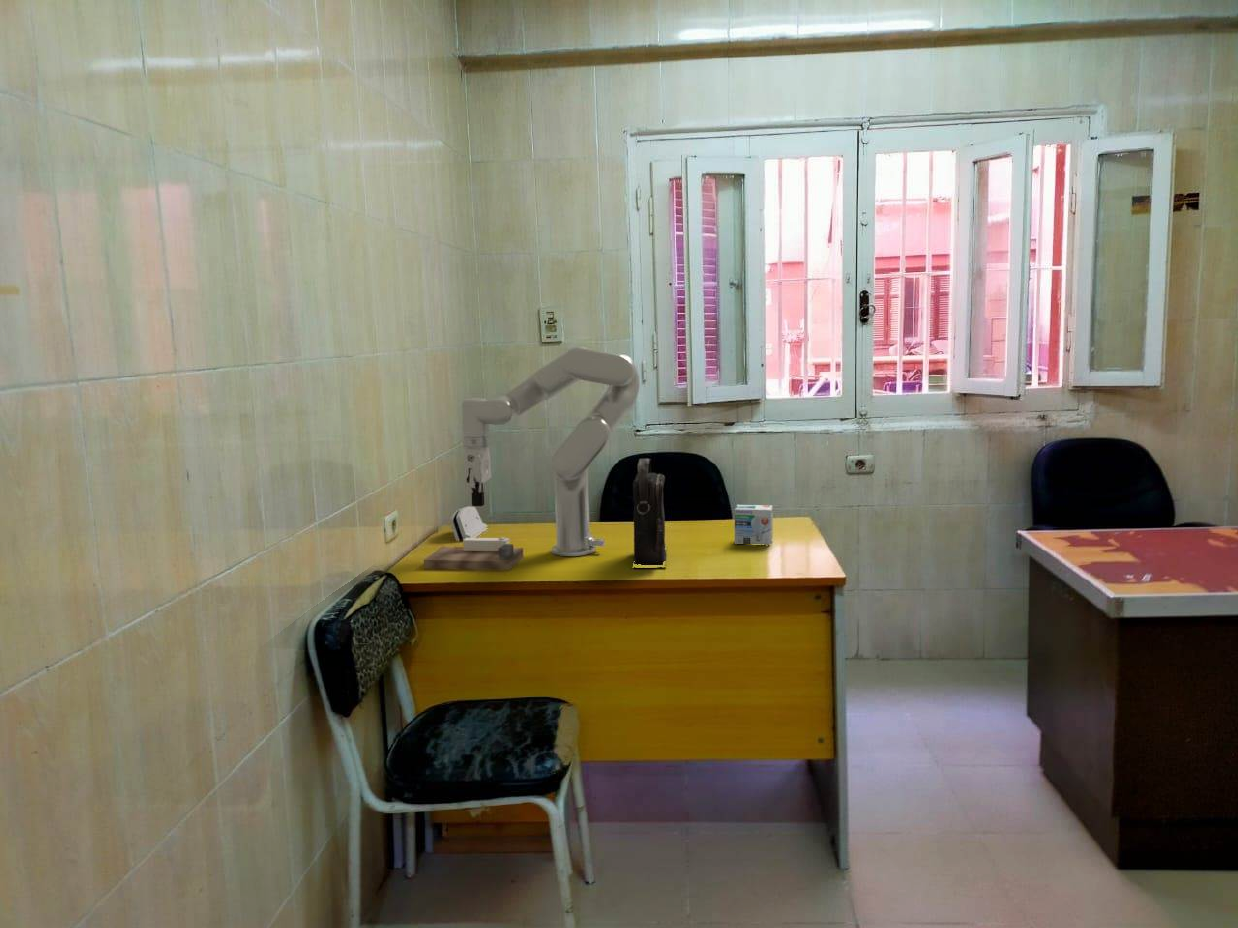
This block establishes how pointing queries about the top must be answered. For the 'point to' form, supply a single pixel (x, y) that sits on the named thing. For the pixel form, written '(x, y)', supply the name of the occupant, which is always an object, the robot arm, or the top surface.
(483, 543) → the folding leg
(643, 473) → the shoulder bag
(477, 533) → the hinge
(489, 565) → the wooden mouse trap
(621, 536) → the top surface
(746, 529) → the light bulb box
